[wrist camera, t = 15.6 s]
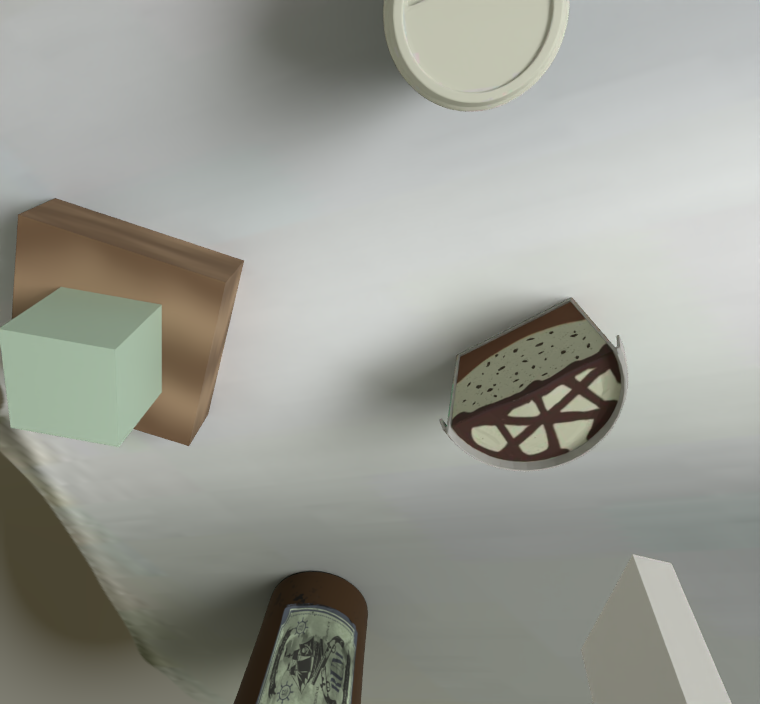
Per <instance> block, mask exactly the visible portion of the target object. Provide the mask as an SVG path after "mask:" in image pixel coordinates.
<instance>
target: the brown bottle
mask: <svg viewBox="0 0 760 704" xmlns="http://www.w3.org/2000/svg"><path fill="white" fill-rule="evenodd" d="M367 618H368V610H367V604H366V601H365V599H364V597H363V596H362V594H361V593H360V592H359V590H358V589H357V588H356V587H355V586H353V585H352V584H351V583H349V582H348V581H346V580H344V579H343V578H340V577H338V576H335V575H332V574H329V573H324V572H303V573H298V574H295V575H292V576H290V577H288V578H286V579H284V580H283V581H282V582H281V583H279V584H278V586H277V587H276V588H275V590H274V592H273V594H272V596H271V599H270V602H269V605H268V608H267V611H266V614H265V617H264V620H263V623H262V626H261V629H260V632H259V635H258V638H257V641H256V643H255V646H254V649H253V652H252V655H251V657H250V660H249V663H248V666H247V668H246V671H245V674H244V677H243V680H242V682H241V685H240V688H239V691H238V693H237V696H236V699H235V701H234V704H361V691H362V677H363V663H364V651H365V640H366V629H367Z"/></svg>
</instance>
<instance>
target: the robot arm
mask: <svg viewBox="0 0 760 704" xmlns="http://www.w3.org/2000/svg"><path fill="white" fill-rule="evenodd" d="M581 651H582V655H583V660H584V664H585V669H586V673H587V678H588V682H589V687H590V691H591V696H592V700H593V704H731V701H730V699H729V697H728V694H727V692H726V690H725V687H724V685H723V683H722V680H721V678H720V676H719V673H718V671H717V669H716V666H715V664H714V662H713V659H712V657H711V655H710V652H709V650H708V648H707V645H706V643H705V641H704V638H703V636H702V634H701V631H700V629H699V627H698V624H697V622H696V620H695V617H694V615H693V613H692V610H691V608H690V606H689V603H688V601H687V599H686V596H685V594H684V592H683V589H682V587H681V585H680V583H679V580H678V578H677V576H676V573H675V571H674V569H673V566H672V564H671V563H667V562H663V561H659V560H654V559H650V558H646V557H642V556H637V555H632V557H631V559H630V560H629V562H628V564H627V566H626V568H625V570H624V572H623V573H622V575H621V577H620V579H619V581H618V583H617V584H616V586H615V588H614V590H613V592H612V594H611V595H610V597H609V599H608V601H607V603H606V605H605V607H604V608H603V610H602V612H601V614H600V616H599V618H598V619H597V621H596V623H595V625H594V627H593V629H592V631H591V632H590V634H589V636H588V638H587V640H586V642H585V643H584V645H583V647H582V649H581Z"/></svg>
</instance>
